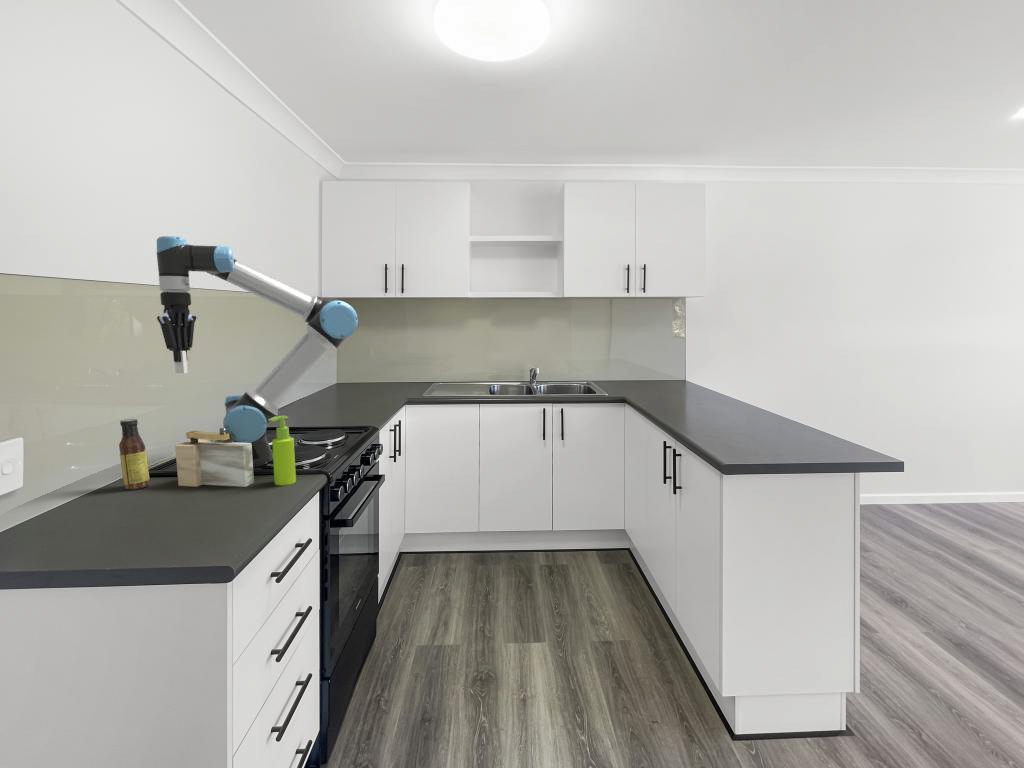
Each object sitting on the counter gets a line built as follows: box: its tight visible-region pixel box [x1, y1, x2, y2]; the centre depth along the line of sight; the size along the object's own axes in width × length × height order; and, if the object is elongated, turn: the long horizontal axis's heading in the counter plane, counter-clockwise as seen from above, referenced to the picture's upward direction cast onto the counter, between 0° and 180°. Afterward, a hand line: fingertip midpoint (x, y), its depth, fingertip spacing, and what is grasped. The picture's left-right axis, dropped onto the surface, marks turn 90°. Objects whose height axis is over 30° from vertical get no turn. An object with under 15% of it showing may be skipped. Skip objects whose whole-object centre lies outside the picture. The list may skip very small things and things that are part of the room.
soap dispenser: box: [269, 415, 297, 486], centre depth 164 cm, size 6×7×20 cm
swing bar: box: [185, 427, 230, 441], centre depth 163 cm, size 13×3×3 cm, turn 75°
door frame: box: [174, 433, 255, 488], centre depth 164 cm, size 8×20×15 cm, turn 81°
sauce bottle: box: [118, 418, 150, 491], centre depth 160 cm, size 7×6×20 cm
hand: (181, 372), depth 165 cm, fingers closed
